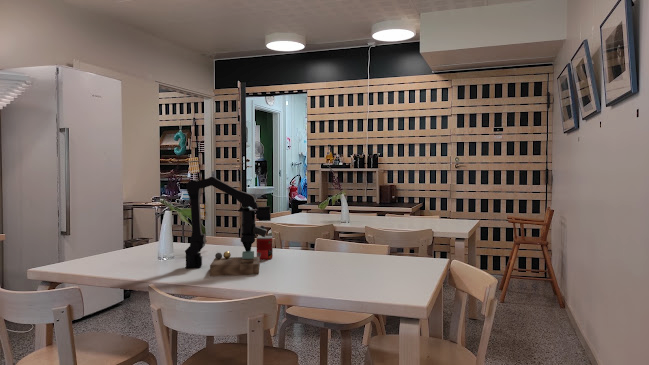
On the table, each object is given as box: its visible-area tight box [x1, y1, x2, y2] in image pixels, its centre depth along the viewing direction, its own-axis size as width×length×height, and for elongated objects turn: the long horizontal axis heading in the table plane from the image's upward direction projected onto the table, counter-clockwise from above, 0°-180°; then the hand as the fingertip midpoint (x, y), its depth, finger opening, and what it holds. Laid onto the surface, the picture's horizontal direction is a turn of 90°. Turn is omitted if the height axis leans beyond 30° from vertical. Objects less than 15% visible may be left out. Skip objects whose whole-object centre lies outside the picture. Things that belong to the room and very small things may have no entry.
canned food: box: [256, 235, 273, 261], centre depth 233 cm, size 8×8×11 cm
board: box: [209, 256, 261, 277], centre depth 203 cm, size 20×18×4 cm
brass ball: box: [222, 250, 232, 259], centre depth 209 cm, size 3×3×3 cm
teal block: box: [241, 250, 255, 259], centre depth 209 cm, size 5×5×2 cm
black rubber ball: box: [214, 252, 223, 259], centre depth 207 cm, size 3×3×3 cm
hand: (248, 254), depth 214 cm, fingers closed
